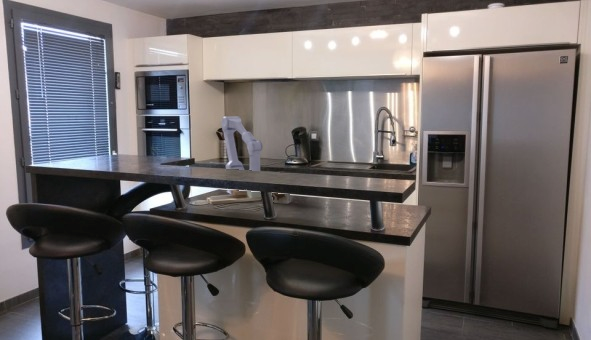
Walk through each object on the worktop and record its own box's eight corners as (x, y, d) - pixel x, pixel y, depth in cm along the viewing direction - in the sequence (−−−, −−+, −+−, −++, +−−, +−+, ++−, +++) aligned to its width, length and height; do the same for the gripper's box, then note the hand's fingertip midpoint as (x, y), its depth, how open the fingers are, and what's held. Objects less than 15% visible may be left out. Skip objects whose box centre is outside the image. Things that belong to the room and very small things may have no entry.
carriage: (231, 196, 243) (231, 182, 242) (243, 194, 246) (243, 182, 245) (234, 198, 238) (234, 184, 237) (247, 197, 241) (247, 183, 240)
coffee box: (270, 202, 236) (270, 172, 234) (275, 200, 242) (275, 170, 240) (287, 204, 233) (287, 173, 231) (291, 201, 239) (291, 171, 237)
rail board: (206, 200, 240) (206, 195, 240) (259, 195, 253) (259, 190, 252) (211, 204, 231) (211, 198, 231) (266, 199, 244) (266, 194, 243)
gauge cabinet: (246, 194, 248) (246, 187, 248) (258, 193, 251) (258, 186, 250) (251, 197, 241) (251, 190, 240) (263, 196, 244) (263, 189, 243)
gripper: (243, 161, 248) (243, 186, 250) (252, 165, 235) (252, 190, 237) (255, 161, 251) (255, 185, 253) (265, 164, 238) (265, 189, 240)
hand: (255, 187), depth 245 cm, fingers closed, pressing on plunger
